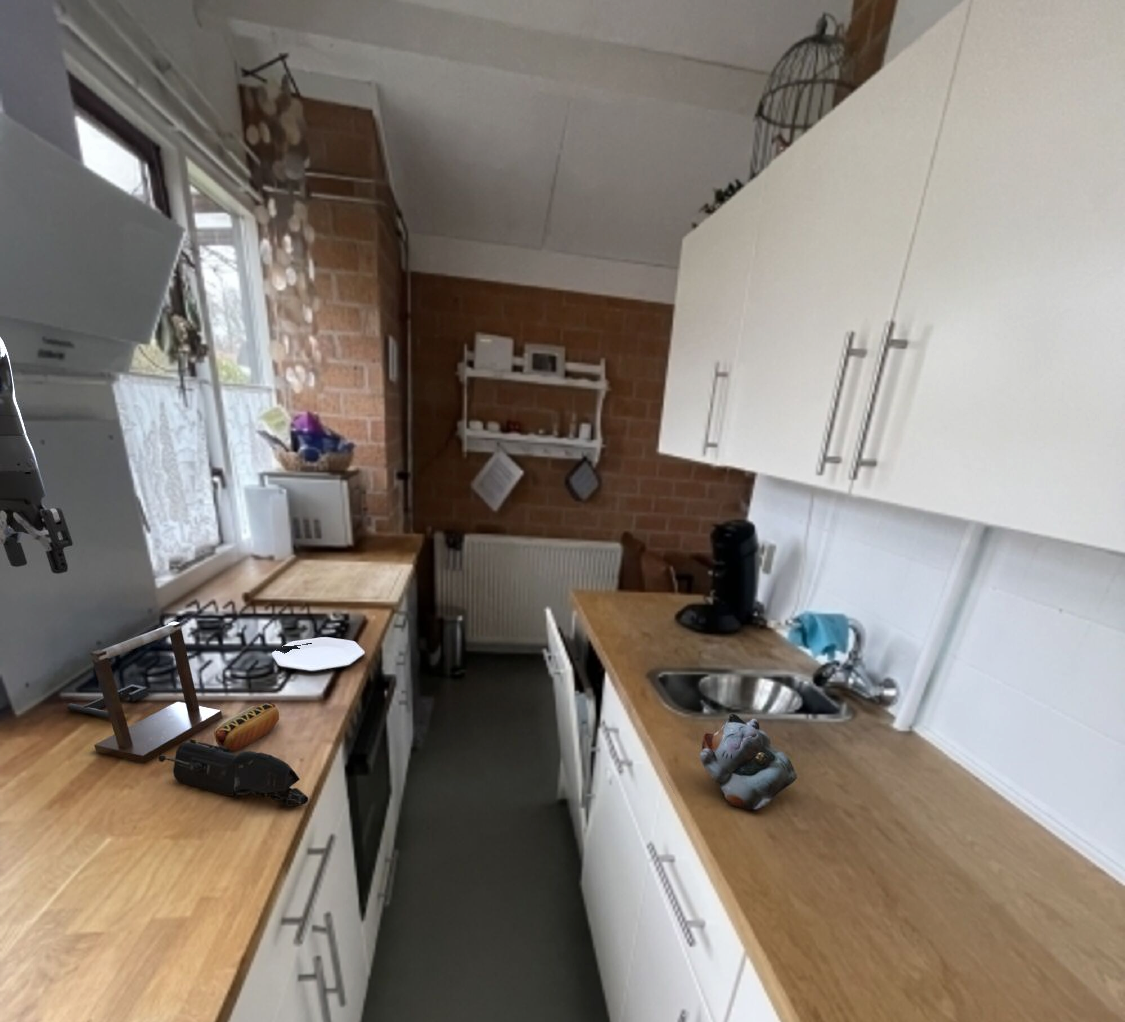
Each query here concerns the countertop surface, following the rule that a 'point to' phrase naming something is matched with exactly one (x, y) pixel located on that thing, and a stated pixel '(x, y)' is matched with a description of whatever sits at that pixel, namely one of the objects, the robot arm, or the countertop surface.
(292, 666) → the plate
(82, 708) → the hanger
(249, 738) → the hot dog
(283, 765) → the black toy vehicle
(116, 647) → the rail stand
